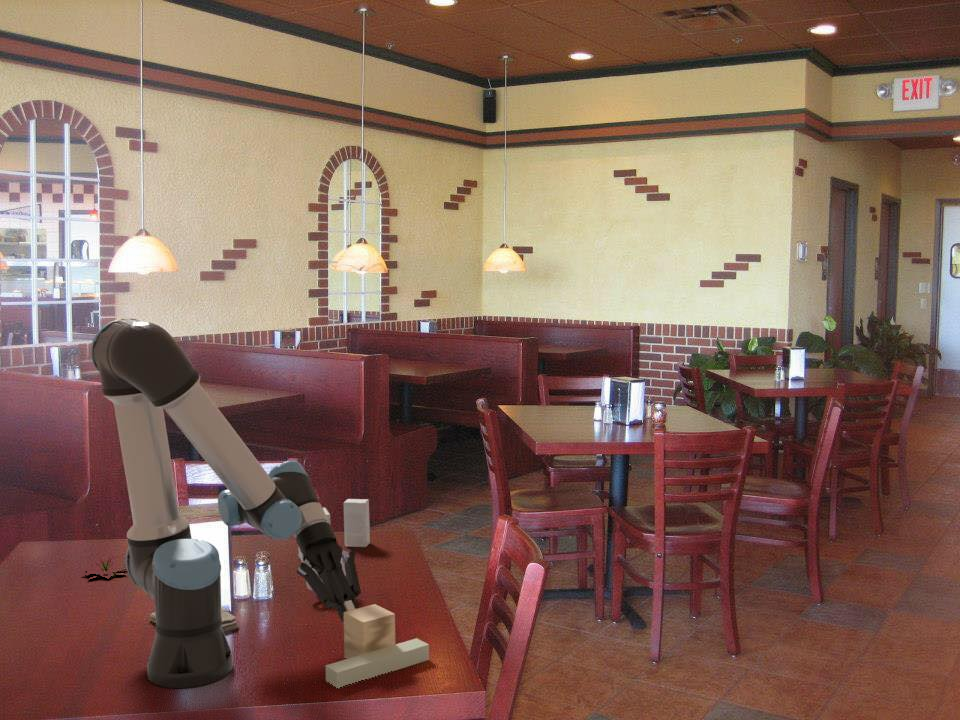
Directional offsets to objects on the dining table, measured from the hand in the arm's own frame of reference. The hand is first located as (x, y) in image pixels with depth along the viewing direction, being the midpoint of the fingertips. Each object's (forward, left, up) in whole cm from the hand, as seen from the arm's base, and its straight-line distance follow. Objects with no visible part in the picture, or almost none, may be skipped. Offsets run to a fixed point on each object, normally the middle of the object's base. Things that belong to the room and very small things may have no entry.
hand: (358, 633), depth 191 cm
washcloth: (-13, +36, -4) cm, 39 cm away
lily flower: (-9, +81, -4) cm, 82 cm away
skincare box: (+47, +53, -4) cm, 71 cm away
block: (-1, -5, -3) cm, 6 cm away
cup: (+16, +29, -4) cm, 34 cm away
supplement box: (+31, +51, -4) cm, 60 cm away
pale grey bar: (-4, -10, -3) cm, 11 cm away
